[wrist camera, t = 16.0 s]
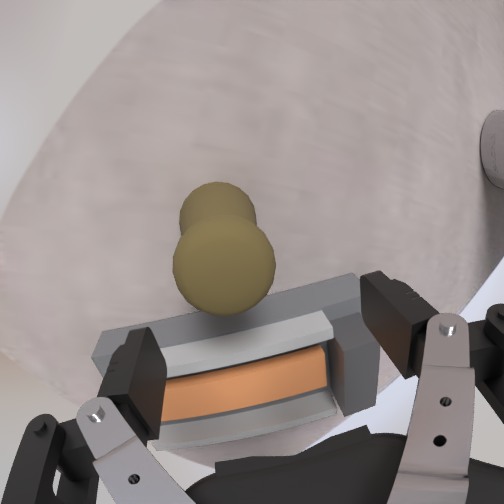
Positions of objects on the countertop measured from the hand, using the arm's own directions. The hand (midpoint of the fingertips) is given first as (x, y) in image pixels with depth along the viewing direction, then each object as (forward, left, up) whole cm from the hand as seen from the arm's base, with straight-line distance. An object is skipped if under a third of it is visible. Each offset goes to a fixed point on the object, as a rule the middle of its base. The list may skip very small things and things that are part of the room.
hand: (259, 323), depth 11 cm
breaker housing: (+2, +13, -15) cm, 19 cm away
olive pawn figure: (+1, 0, -15) cm, 15 cm away
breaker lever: (+4, +13, -10) cm, 17 cm away
